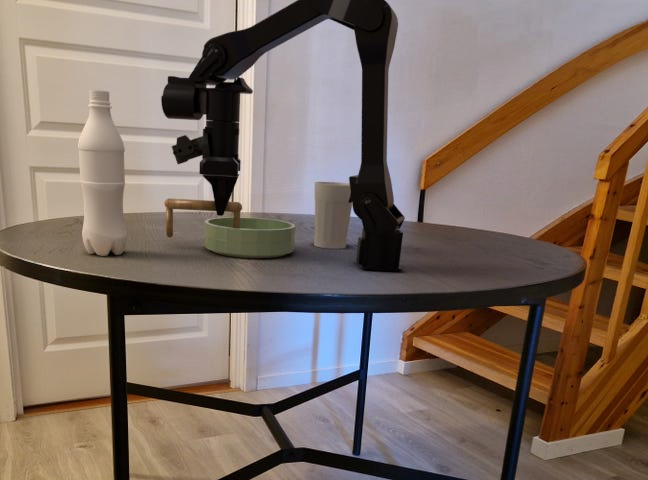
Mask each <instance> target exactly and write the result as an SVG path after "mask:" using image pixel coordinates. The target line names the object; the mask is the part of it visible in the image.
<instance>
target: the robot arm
mask: <svg viewBox="0 0 648 480" xmlns="http://www.w3.org/2000/svg"><path fill="white" fill-rule="evenodd" d="M327 20H330V21H332V22H336V23H337V24H339V25H341V26H344V27H346V28H348V29H349V30H352V31H354V37H355V45H356V48H357V49H356V50H357V52H358V57H359V62H360V65H361V136H360V137H361V144H360V145H361V153H360V155H361V156H360V157H361V159H360V166H359V170H358V174H356V175H350V176H349V177H348V183H350V190H351V194H350V198H349V201H348V202H349V203H351V202H352V211H353V213H354V215H355V216H356V217H357V218H358V219H359V220H361V224H362V227H363V228H362V230H361V232H362V233H361V236H359V237H358V238H357V245H356V246H357V248H356V257H355V261H356V263H357V264H358V266H359V267H360V268H361V269H362V270H365V271H383V272H384V271H386V272H402V267H401V266H400V263H401V262H400V261H401V254H402V247H403V246H402V245H403V238H404V231H402V230H400V229H401V227H402V226H403V224H404V222H405V219H406V216H405V215H404V214H403V213H402V212H401V211H400V209H399V208H398V207H397V205H396V204H395V198H394V190H393V184H392V178H391V175H390V170H389V165H388V161H387V160H388V117H389V116H388V115H389V114H388V113H389V69H390V65H391V61H392V59H393V58H392V57H393V55H394V50H395V46H396V40H397V36H398V35H397V34H398V30H399V29H398V28H399V19H398V16H397V14H396V12H395V11H394V10H393V8H392V6H391V5H390V4H389V2H388V1H386V0H295V1H294V2H292V3H290V4H288V5H287V6H284V7H283V8H281V9H279V10H277V11H276V12H274V13H273V14H271V15H269V16H267V17H266V18H264V19H262V20H260V21H259V22H257V23H255V24H253V25H251V26H249V27H247V28H244V29H238V30H234V31H229V32H225V33H223V34H219V35H217V36H214V37H211V38H210V39H208V40H207V41H206V42H205V44H204V45H203V49H202V53H201V57H200V59H199V60H198V62H197V63H196V65H195V66H194V68H193V70H192V71H191V73H190V75H189V76H188V77H180V76H175V75H169V76H167V84H165V86H164V88H163V91H162V95H161V97H160V98H161V99H160V101H161V109H162V112H163V115H164V116H165V117H166V118H167V119H168V120H184V121H185V120H186V121H187V120H188V121H199V120H201V119H202V118H203V116H204V115H205V126H204V128H202V135H201V136H198V137H195V138H192V139H191V138H190V137H189V136H188V135H186V134H184V135H181V136H178V137H176V143H175V144H174V145H171V150H172V154H173V155H174V158H175V162H176V163H177V165H181V164H184V163H188V161H189V160H193V159H195V158H200V157H201V158H202V159H201V160H200V161H199V175H202V177H203V178H204V179H205V180H206V182H208V183H209V185H210V186H211V190H212V195H213V201H215V207H216V211H215V212H216V215H217V216H218V217H223V216H224V214H225V213H226V212H225V210H226V207H227V204H228V202H230V199H231V197H232V195H233V192H234V190H235V186H236V184H237V182H238V179H239V177H240V174H239V172H241V163H242V160H241V159H240V158H239V157H240V154H239V148H240V147H239V146H240V131H241V129H240V117H241V95H252V94H253V93H254V92H253V89H252V88H251V87H250V86H249V85H248V83H247V82H246V80H245V78H243V77H241V76H242V75H244V74H245V73H246V72H247V71H249V69H251V68H252V67H253V66H254V65H255V64H256V62H258V60H259V59H260V58H262V56H263V55H264V54H266V53H268V52H270V51H272V50H273V49H275V48H277V47H278V46H281V45H282V44H284V43H286V42H288V41H289V40H292V39H293V38H295V37H297V36H299V35H300V34H302V33H304V32H305V31H308V30H310V29H311V28H314V27H315V26H317V25H319V24H321V23H323V22H324V21H327ZM227 80H229V81H227ZM230 80H234V81H230ZM207 86H214V87H207Z"/></svg>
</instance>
